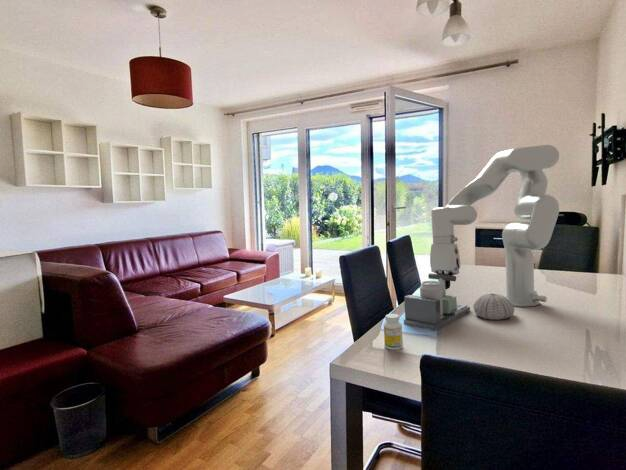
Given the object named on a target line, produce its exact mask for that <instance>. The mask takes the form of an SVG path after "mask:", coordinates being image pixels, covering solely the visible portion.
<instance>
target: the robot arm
mask: <svg viewBox="0 0 626 470" xmlns="http://www.w3.org/2000/svg"><path fill="white" fill-rule="evenodd" d="M559 160H560V152H559V150H558V149H557V148H556V147H555V146H553V145H552V144H541V145H533V146H524V147H515V148H509V149H505V150H501V151H499V152H497V153H496V154H495V155H493V157H491V159H490V160H489V162H487V163H486V165H485V166H484V167H483V168H482V170H481V171H480V172H479V174H478V175H477V176H476V178H474V179H473V180H472V181H471V182H469V183H468V184H467V185H466V186H464V187H463V188H462V189H461V190H459V191H457V193H456V194H454V196H453V197H452V198H451V199H450V200H449V202H448V203H447V204H446V206H439V207H434V208H432V209H431V230H432V231H431V232H432V243H431V244H430V245H431V246H430V255H429V264H430V265H429V266H430V268H431V269H430V271H431V272H432V273H433V274H442V275H451V276H456V275H459V274H460V269H461V259H460V258H461V257H460V252H459V247H458V244H457V243H456V242H457V241H458V240H459V239H458V237H456V236H455V229H454V226H468V225H471V224H473V223H474V222H476V220H477V218H478V212H477V210H476V209H475V207H473V206H472V205H473V204H474V203H476V202H478V201H480V200H483V199H485V198H487V197H489V196H491V195H493V194H495V192H496V191H497V190H498V188H500V186H501V185H502V184H503V182H504V181H505V180H506V179H507V177H509V175H510V174H512V173H517V172H519V174H520V176H521V181H522V182H521V186H520V190H519V194H518V196H517V199H516V203H515V205H514V209H513V210H514V215H515V216H516V217H517V218H518V219H520V220H527V221H529V222H523V221H522V222H520V221H519V222H518V221H514V222H511V223H508V224H507V225H506V226H504V228H503V230H502V233H501V237H502V242H503V246H504V252H505V253H504V255H505V279H506V280H505V281H506V282H505V283H506V285H505V286H506V288H505V289H506V296H505V297H506V298H507V299H508V300H509V301H510V302H511V303H512V304H513V307H523V308H524V307H525V308H527V307H529V308H530V307H535V306H539V304H540V302H543V303H546V302H547V301H548V297H547V296H546V295H540V294H538V291H536V290H535V272H534V271H535V269H534V264H535V263H534V261H535V260H534V254H533V251H532V250H541V249H544V248H545V247H547V245H548V244H549V243H550V240H551V238H552V235H553V232H554V229H555V226H556V223H557V220H558V217H559V213H560V205H559V202H558V200H557V199H556V197H554V196H552V195H549V194H546V193H547V189H548V178H547V176H546V174H545V172H544V171H543V170H546V169H547V170H548V169H551V168H553V167H554V166H555V165H556V164H557V163H558V161H559ZM450 287H451V281H447V280H445V290H448V289H450Z"/></svg>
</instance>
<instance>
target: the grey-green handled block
mask: <svg viewBox="0 0 626 470" xmlns="http://www.w3.org/2000/svg"><path fill="white" fill-rule="evenodd" d="M427 277H428V279H430V280H431V279H432V280H438V282H439V283H440V285H441V286H442V301H443V313H446V314H450V313H452V311H454V310H456V309H457V305H458V303H457V296H454V295H450V294H449V295H448V294H446V289H445V280H447V281H450V282H456V280H457V276H456V275H453V276H451V275H442V274H436V273H433V272H432V273H431V272H430V273H428V276H427Z"/></svg>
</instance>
